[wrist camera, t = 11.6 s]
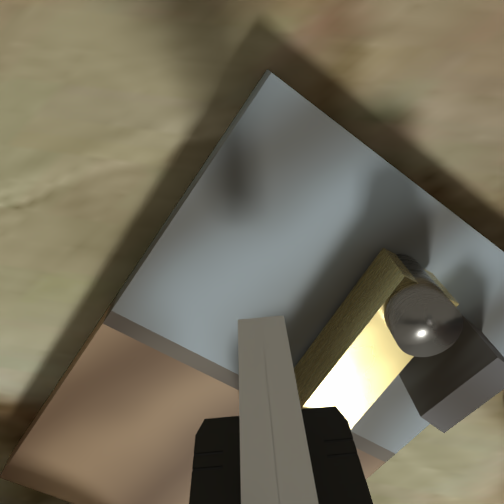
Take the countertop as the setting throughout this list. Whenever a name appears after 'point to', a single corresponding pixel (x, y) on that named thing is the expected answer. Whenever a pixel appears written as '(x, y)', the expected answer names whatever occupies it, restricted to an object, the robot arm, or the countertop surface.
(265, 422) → the robot arm
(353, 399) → the swing bar
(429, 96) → the countertop surface
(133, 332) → the board
